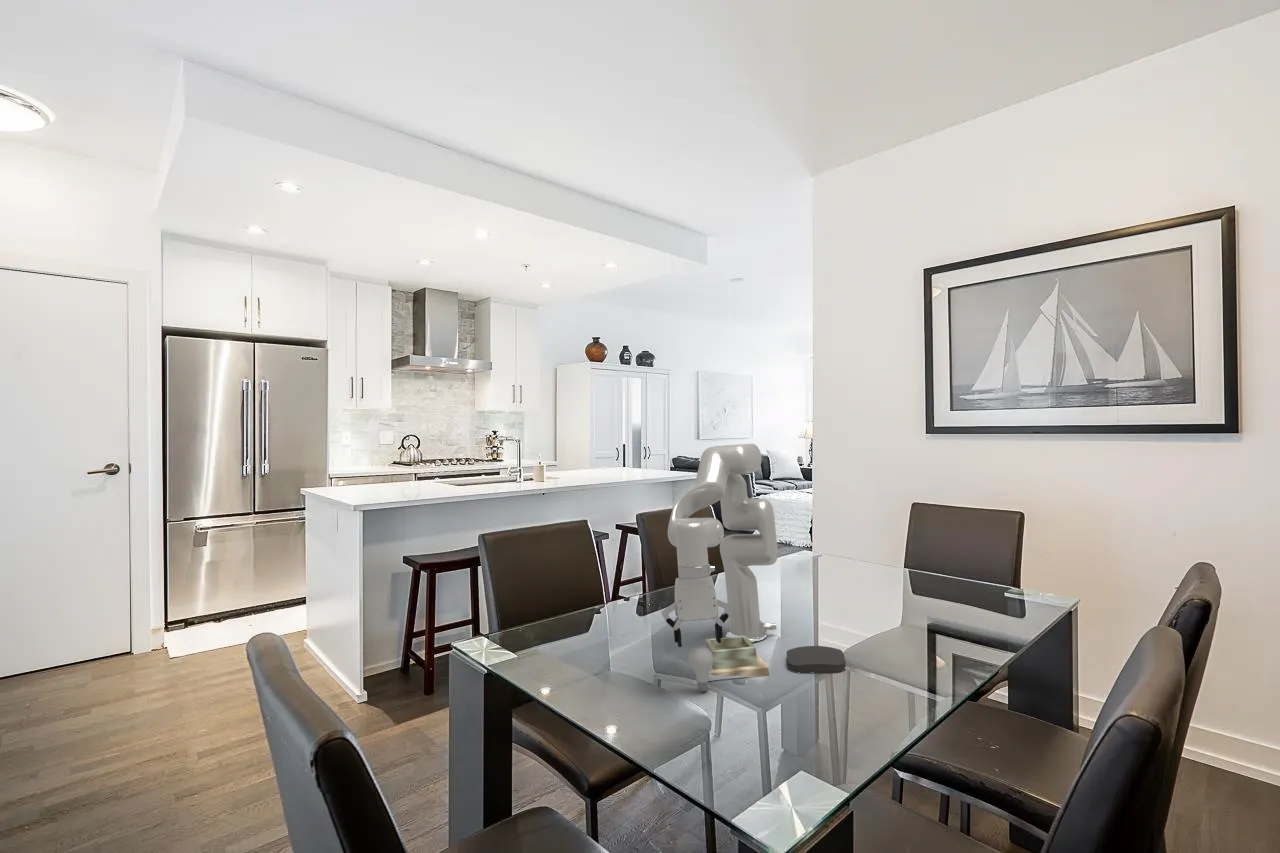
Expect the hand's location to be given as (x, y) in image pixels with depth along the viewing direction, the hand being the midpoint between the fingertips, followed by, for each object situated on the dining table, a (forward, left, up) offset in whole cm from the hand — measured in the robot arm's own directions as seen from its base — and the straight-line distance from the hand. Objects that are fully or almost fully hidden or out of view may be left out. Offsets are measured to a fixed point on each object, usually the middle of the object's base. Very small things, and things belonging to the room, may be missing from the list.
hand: (699, 643), depth 151 cm
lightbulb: (0, 0, -12) cm, 12 cm away
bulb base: (-10, -14, -12) cm, 21 cm away
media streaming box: (-32, -11, -12) cm, 36 cm away
